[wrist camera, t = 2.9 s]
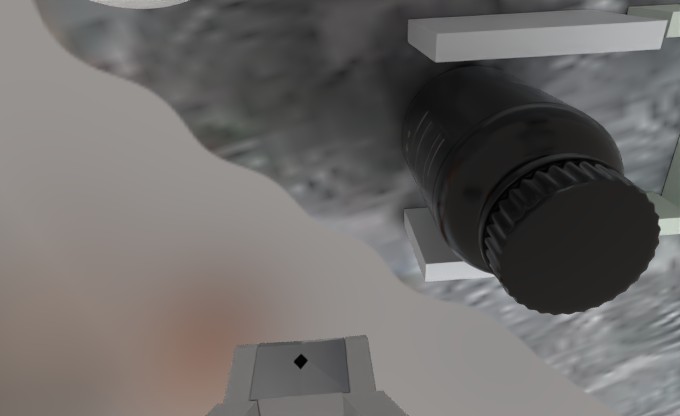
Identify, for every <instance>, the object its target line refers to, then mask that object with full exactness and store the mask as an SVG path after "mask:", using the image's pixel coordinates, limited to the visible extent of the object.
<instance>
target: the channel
mask: <svg viewBox="0 0 680 416" xmlns="http://www.w3.org/2000/svg"><path fill="white" fill-rule="evenodd" d="M667 22H668V20H661V19H654V18H647V17H640V16H632V15H625V14H618V13H611V12H603V11H596V10H589V9H583V10H565V11H548V12H530V13H513V14H495V15H478V16H460V17H443V18H425V19H408V43H410V44H411V45H412V46H414V47H415V48H416V49H418V50H419V51H420V52H422V53H423V54H425V55H426V56H427V57H429V58H430V59H431V60H433V61H434V62H435V63H436V62H453V61H470V60H486V59H503V58H520V57H536V56H553V55H570V54H587V53H603V52H620V51H637V50H653V49H660V48H661V44H662V40H663V37H664V33H665V29H666V25H667ZM404 225H405V228H406V231H407V234H408V236H409V239H410V242H411V245H412V247H413V250H414V253H415V256H416V258H417V261H418V264H419V266H420V269H421V272H422V275H423V277H424V280H425V282H428V281H442V280H455V279H469V278H483V277H495V276H494V275H493V274H489V273H486V272H483V271H481V270H478V269H476V268H474V267H472V266H470V265H469V264H467V263H465V262H464V261H463V260H461V259H460V258H459V257H458V256H457V255H456V254H455V253H454V252H453V251H452V250H451V249H450V248H449V247H448V245H447V244H446V242H445V241H444V239H443V237H442V236H441V234H440V232H439V230H438V228H437V226H436V224H435V222H434V220H433V217H432V215H431V213H430V211H429V209H428V207H427V208H412V209H404Z"/></svg>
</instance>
